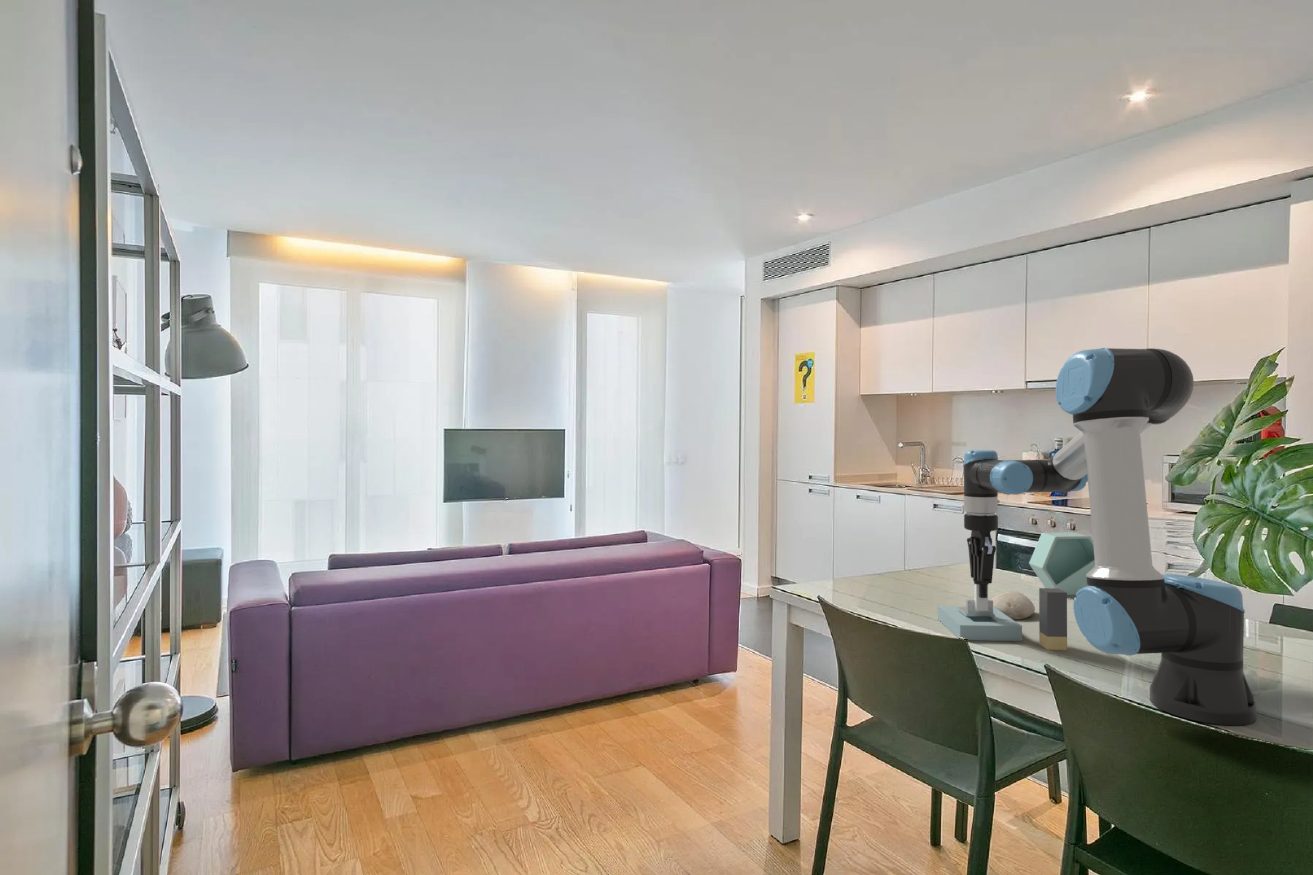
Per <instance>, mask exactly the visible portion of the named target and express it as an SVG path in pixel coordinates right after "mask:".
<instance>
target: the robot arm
mask: <svg viewBox="0 0 1313 875" xmlns="http://www.w3.org/2000/svg"><path fill="white" fill-rule="evenodd" d="M1194 383H1195V382H1194V375H1193V372H1192V370H1191V367H1190V366H1189V365H1188V363H1187V362H1186V360H1184V359H1183V358H1182V357H1180V356H1179V355H1178V354H1176V353H1174V352H1171V351H1169V350H1166V349H1163V348H1162V349H1161V348H1114V347H1113V348H1110V347H1109V348H1108V347H1102V348H1101V347H1100V348H1094V349H1093V348H1092V349H1083V350H1079V351H1077V352H1075V353H1073V354H1072V355H1071V356H1070V357H1068V359H1066V361H1065V362H1064V363H1063V366H1062V367H1061V368H1060V370H1059V373H1058V374H1057V378H1056V384H1055V399H1056V401H1057V404H1058V405H1059V406H1060V407H1059V408H1060V409H1061V410H1062V411H1063V412H1065V413H1067V414H1070V415H1072V422H1073V423H1072V424H1073V426H1074V427H1075V428H1076V429H1077V430H1079V431H1080V432H1079V433H1078V434H1076V435H1075V436H1074V437H1073V438H1071V440H1069V441H1068V442H1067V443H1066V444H1065V445H1064V446H1062V447H1061V448H1060V449H1059V450H1058V451H1057V452H1055V454H1053V455H1052V456H1050V457H1049V458H1048V459H1047V458H1046V459H1014V460H1013V459H1011V460H1010V459H1009V460H1007V459H1006V460H1005V459H1004V460H1003V459H999V457H998V452H997V451H995V450H991V449H970V450H966V451H965V452H964V455H963V456H964V457H963V458H964V459H963V465H962V468H963V512H965V513H964V515H963V527H964V529H965V530H967V531H971V533H970V537H968V538H967V539H966V542H967V546H968V557H969V569H970V578H972V580H973V585H974V589H973V592H974V594H973V595H974V598H973V600H974V609H975V610H976V611H988V600H989V585H990V584H992V582H993V575H994V574H993V573H994V561H995V553H996V550H997V548H996V546H995V545H993V539H992V536H991V533H992V532H995V531H997V530H998V529H999V516H998V515H997V514H996V513H998V511H999V510H998V506H999V505H998V504H1000V499H998V496H999V494H998V493H1000V494H1004V495H1007V496H1009V495H1013V496H1014V495H1016V496H1017V495H1022V494H1025V493H1026V494H1027V493H1071V492H1078V491H1082V490H1083V489H1085V487H1086V485H1088V486H1087V487H1088V488H1087V489H1088V496H1089V497H1088V498H1089V508H1090V509H1089V511H1090V519H1091V520H1090V521H1091V522H1090V523H1091V532H1092V540H1093V546H1094V557H1095V566H1094V568H1093V569H1092V570H1091V571H1089V572H1088V573H1087V574H1086V578H1087V586H1086V587H1084V588H1082V589H1080V590H1079V591H1078V592H1077V593H1076V595H1075V597H1074V599H1073V604H1072V605H1073V613H1074V619H1075V621H1076V624H1077V627H1078V628H1079V630H1080V632H1081V634H1082V635H1083V637H1085V639H1086V641H1087V642H1088V643H1089V644H1090V645H1091V646H1092V647H1094V648H1095V649H1097V650H1098V651H1100V652H1102V653H1105V654H1108V655H1125V656H1129V657H1130V656H1135V655H1141V654H1142V655H1143V654H1144V655H1145V654H1146V655H1147V654H1160V656H1161V657H1160V662H1159V664H1158V666H1157V669H1156V671H1155V674H1154V676H1153V677H1152V681H1151V684H1150V687H1149V701H1150V703H1151V704H1152V705H1154V706H1155V707H1156V708H1158V709H1160V710H1162V711H1164V712H1167V713H1169V714H1172V715H1174V716H1177V717H1180V718H1184V719H1187V720H1192V721H1194V722H1195V721H1196V722H1200V723H1206V724H1207V723H1208V724H1212V725H1213V724H1214V725H1221V726H1222V725H1223V726H1243V725H1249V724H1252V723H1254V722H1256V720H1257V718H1258V717H1257V712H1258V711H1257V704H1256V703H1257V702H1256V701H1255V699H1254V695H1253V693H1252V690H1251V688H1250V685H1249V683H1248V680H1247V678H1246V675H1245V672H1244V638H1245V637H1244V632H1245V631H1244V630H1245V629H1244V628H1245V627H1244V624H1245V621H1244V620H1245V612H1246V611H1245V609H1244V600H1243V593H1242V591H1241V590H1240V589H1239V588H1238V587H1236V586H1235V585H1232V584H1229V583H1226V582H1222V581H1217V580H1213V579H1209V578H1203V577H1197V576H1190V575H1184V574H1177V573H1176V574H1174V573H1165V574H1162V573H1160V571H1159V570H1157V569H1156V568H1155V567H1154V565H1153V555H1152V546H1151V536H1150V535H1151V534H1150V525H1149V514H1148V503H1147V493H1146V484H1145V483H1146V481H1145V474H1144V473H1145V472H1144V462H1143V461H1144V460H1143V452H1142V451H1143V450H1142V440H1141V434H1142V433H1143V432H1145V431H1146V430H1147V429H1149V428H1150V427H1151V426H1152V425H1153V426H1155V425H1162V424H1165V423H1166V422H1168V421H1169V420H1170V419H1171V418H1173V417H1175V416H1176V414H1178V413H1179V412H1180V411H1181V410H1182V409H1183V408H1184V407H1185V406H1186V405H1187V403H1188V401H1189V400H1190V399H1191V396H1192V394H1193V391H1194V386H1195V385H1194Z"/></svg>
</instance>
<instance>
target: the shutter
mask: <svg viewBox="0 0 1313 875" xmlns="http://www.w3.org/2000/svg"><path fill="white" fill-rule="evenodd" d="M965 604H966V605H965V606H966V607H957V609H958V610H959V611H960V612H961V613H963V614H964V615H965V616H984V617H995V614H994V613H993V601H992V600H990V599H988V611H976V610H975V609H974V599H966V600H965Z"/></svg>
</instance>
